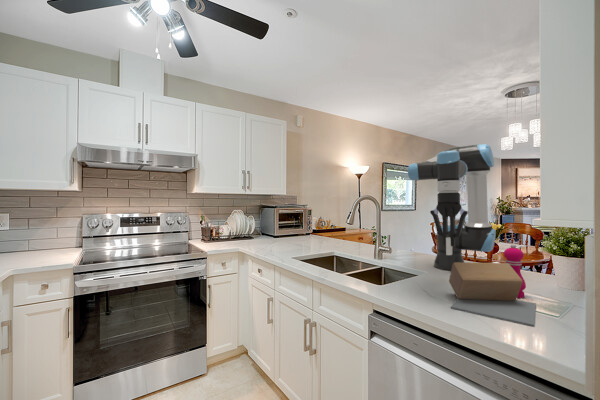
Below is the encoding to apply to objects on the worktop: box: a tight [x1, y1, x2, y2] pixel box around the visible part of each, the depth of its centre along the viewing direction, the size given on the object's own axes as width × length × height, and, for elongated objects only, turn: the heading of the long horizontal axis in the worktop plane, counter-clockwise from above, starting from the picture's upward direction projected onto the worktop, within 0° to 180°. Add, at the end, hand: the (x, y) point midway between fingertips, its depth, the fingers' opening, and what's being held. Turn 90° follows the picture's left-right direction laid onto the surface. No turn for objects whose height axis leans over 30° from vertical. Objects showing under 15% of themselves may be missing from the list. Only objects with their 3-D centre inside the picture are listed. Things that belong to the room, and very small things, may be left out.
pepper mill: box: [503, 243, 527, 299], centre depth 108 cm, size 7×7×20 cm
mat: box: [450, 298, 537, 328], centre depth 97 cm, size 22×22×1 cm
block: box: [448, 262, 523, 301], centre depth 104 cm, size 10×10×20 cm
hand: (449, 254), depth 106 cm, fingers closed
